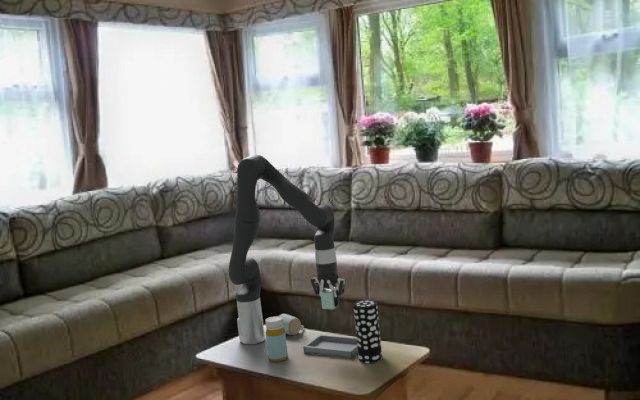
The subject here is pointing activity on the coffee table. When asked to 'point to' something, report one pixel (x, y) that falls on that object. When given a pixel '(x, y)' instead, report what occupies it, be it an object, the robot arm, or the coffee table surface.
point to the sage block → (327, 299)
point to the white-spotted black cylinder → (367, 331)
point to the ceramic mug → (291, 324)
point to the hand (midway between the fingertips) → (330, 305)
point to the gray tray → (332, 346)
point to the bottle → (276, 339)
